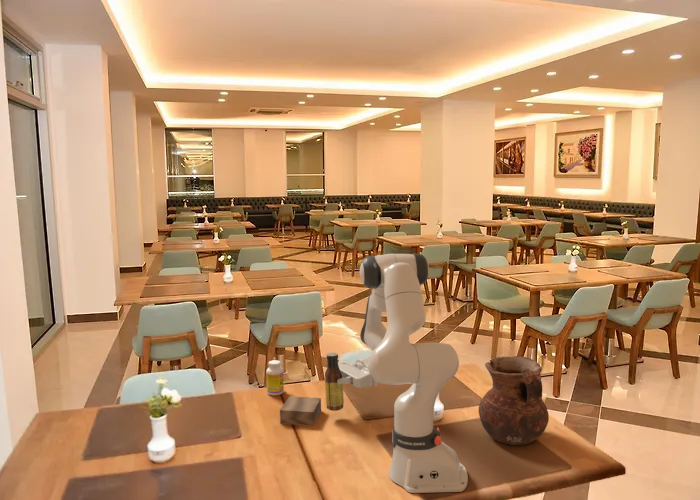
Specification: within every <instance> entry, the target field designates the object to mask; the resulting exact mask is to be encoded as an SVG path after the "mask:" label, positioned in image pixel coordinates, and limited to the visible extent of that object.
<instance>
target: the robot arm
mask: <svg viewBox="0 0 700 500" xmlns="http://www.w3.org/2000/svg"><path fill="white" fill-rule="evenodd" d="M429 267H430V266H429V263H428V260H427V258H426V257H425V256H424V255H423V254H420V253H415V252H414V253H412V254H411V253H387V254H386V253H385V254H379V255H375V256H374V255H369V256H366V257H364V258H363V259H362V260H361V264H360V266H359V277H360V280H361V282H362V285H363V286H365V288H368V289H372V290H371V292H370V294H369V296H368V298H367V302H366V308H365V316H364V322H363V325H362V328H361V329H360V336H359V337H360V341H361V342H362V343H363V344H365V345H366V347H368V348H369V349H370V350H371V353H370V355H369V356H366V357H363V358H359V359H356V360H355V361H354V363H352V362H350V361H346V360H343V361H341V360H340V361H338V366H339V369H340V372H341V374H342V378H337V379H336V383H337V384H343V385H349V384H350V385H351V386H353V387H354V388H357V389H366V388H370V387H378V385H379V384H380V385H381V384H382V385H388V386H389V385H390V386H396V385H397V386H398V385H409V384H411V386H410V387H409V388H407V390H406V391H405V392H402V393H401V394H400V395H398V396H397V398H396V399H395V402H394V405H393V406H394V407H393V411H394V413H393V414H394V415H393V423H394V425H393V426H392V430H391V431H392V432H391V433H392V434H391V435H392V437H391V438H392V439H391V441H392V447H393V449H392V450H393V452H392V458H391V461H390V462H391V463H390V467H389V469H388V476H389V478H390V479H391V481H392V482H394V483H396V484H397V485H399V486H401V487H403V488H404V489H405V490H406V492H408V493H411V494H421V493H422V494H423V493H427V494H429V493H457V492H458V493H459V492H460V493H461V492H463V491H464V490H465V489H467V486H468V484H469V483H468V482H469V476H468V471H467V468H466V467H465V466H464V464H462V463H461V462H460V460H459V458H458V454H457V452H456V450H455V449H453V448H452V447H451V446H450V445H447V444H446V443H445V442H443V441H442V440H443V439H442V437H441V432H440V429H439V426H438V427H437V428H435V427H434V411H435V404H436V401H437V398H438V396H439V393H440V392H441V390H442V388H443V387H444V386H445V385H446V384H447V383H448V382H449V381H450V380H451V379H453V378H454V377H455V376H456V374H457V372H458V371H459V367H460V366H459V365H460V358H459V355H458V353H457V351H456V350H455V348H454V347H453V346H452V345H451V344H449V343H443V342H436V341H435V342H420V343H419V342H418V343H412V342H410V336H411V335H413V334H414V333H416V332H418V331H419V330H420V329H422V327H423V326H424V324H425V323H426V319H427V317H426V310H425V305H424V299H423V292H422V288H421V285H422V286H423V285H424V284H426V282H427V281H428V278H429V273H430V268H429ZM383 313H386V326H385V325H384V324H383V322H382V315H383Z"/></svg>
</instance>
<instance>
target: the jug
mask: <svg viewBox="0 0 700 500" xmlns="http://www.w3.org/2000/svg"><path fill="white" fill-rule="evenodd" d="M484 365H485V368H486V370H487V372H489V374H490V376H491V380H492V388H491V389H489V390H488V391H487V392H486V393H485V394H484V395H483V396H482V398H481V400H480V402H479V405H478V416H479V420H480V422H481V424H482V428H483V429H484V431H485V432H486V433H487V434H488V435H489V436H490V437H491V438H492V439H493V440H495V441H497V442H500V443H502V444H506V445H508V446H518V447H519V446H526V445H529V444H531V443H532V442H533V441H535V440H537V439H538V438H539V437H540V436H541V435H543V433H544V432H545V430H546V429H547V426H548V424H549V422H550V421H549V419H550V417H549V411H548V408H547V405H546V404H545V402H544V400H543V382H542V375H541V372H542V370H543V368H542V366H540V364H539V363H538V362H537V361H536V360H534V359H532V358H530V357H526V356H522V355H514V356H499V357H495V358H493V359H490V360H489V361H488V362H487V361H486V362H485V363H484Z"/></svg>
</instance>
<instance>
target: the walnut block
mask: <svg viewBox="0 0 700 500" xmlns="http://www.w3.org/2000/svg"><path fill="white" fill-rule="evenodd" d="M321 413H322V398H320V397H310V396H309V397H307V396H292V395H291V396H288V398H287V399H286V401H285V402H284V403H283V405H282V406H281V407H280V410H279V416H280V417H279V419H280V420H279V421H280V424H281V425H282V424H283V425H297V426H299V425H300V426H310V427H311V426H312V427H313V426H315V424H316V421H317V420H318V417H319V416H320V415H321Z"/></svg>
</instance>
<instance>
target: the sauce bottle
mask: <svg viewBox="0 0 700 500" xmlns="http://www.w3.org/2000/svg"><path fill="white" fill-rule="evenodd" d="M338 359H339V354H338V353H337V352H329V353H328V352H327V354H326V360H327V364H326V365H327V366H326V370H325V373H324V379H325V380H324V388H325V403H326V409H328V410H330V411H332V412H336V411H340V410H342V409H343V408H344V401H345V399H344V386H343V385H344V384H337V383H336V379H337V378H342V374H341V372H340V369H339V366H338V362H339V360H338Z"/></svg>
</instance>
